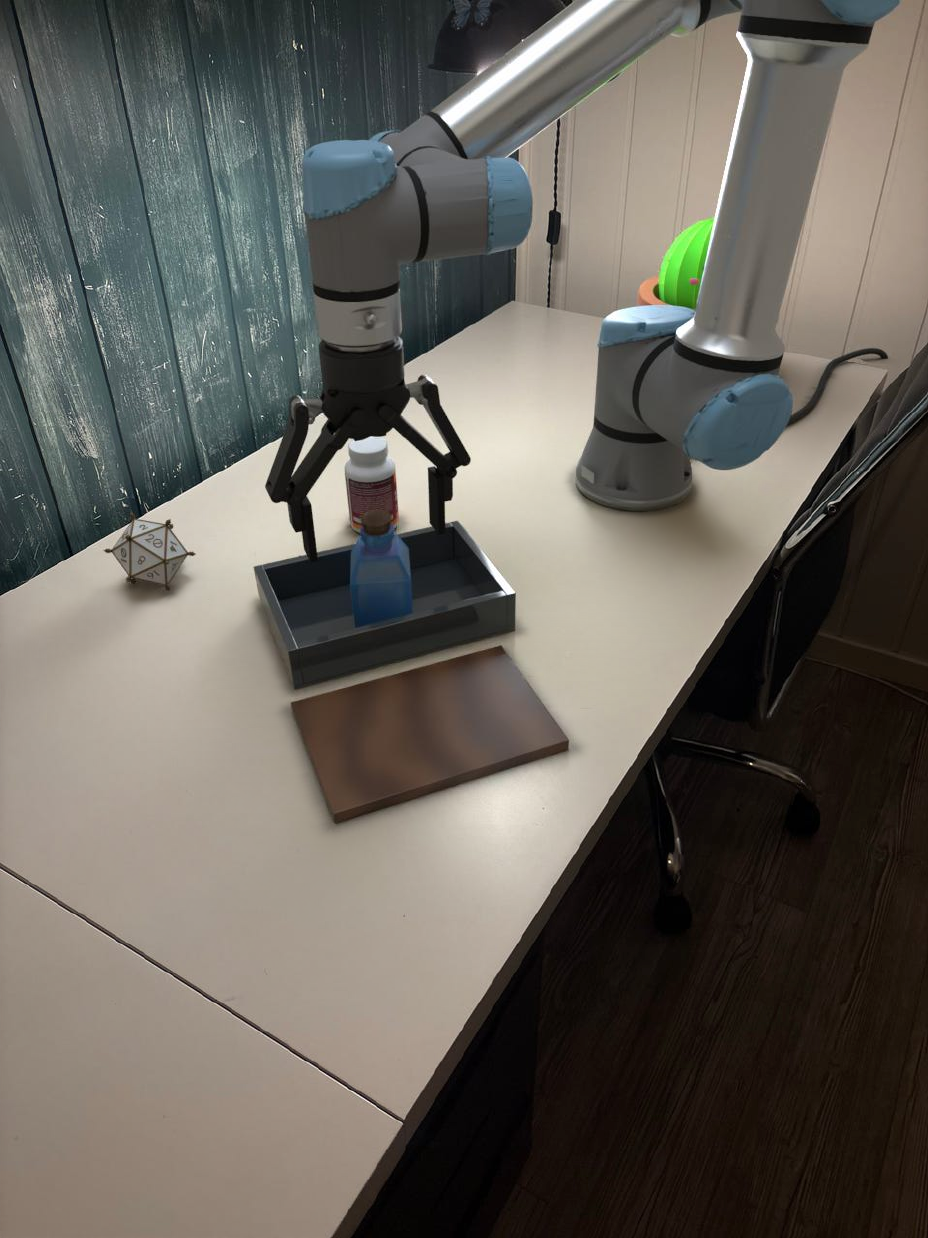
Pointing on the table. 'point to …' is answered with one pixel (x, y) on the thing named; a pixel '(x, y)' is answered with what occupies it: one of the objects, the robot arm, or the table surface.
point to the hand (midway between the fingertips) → (375, 541)
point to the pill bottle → (370, 480)
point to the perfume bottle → (379, 572)
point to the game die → (149, 552)
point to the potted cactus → (680, 270)
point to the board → (423, 731)
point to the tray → (442, 618)
